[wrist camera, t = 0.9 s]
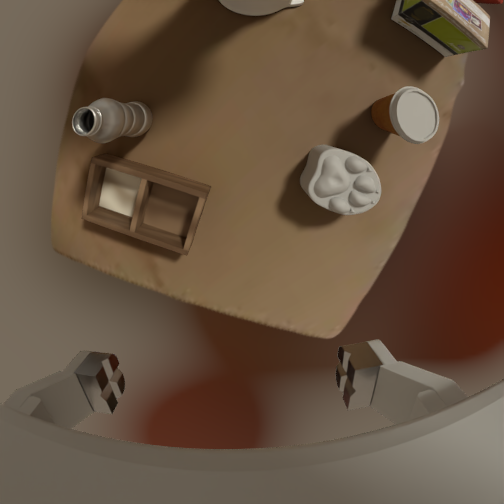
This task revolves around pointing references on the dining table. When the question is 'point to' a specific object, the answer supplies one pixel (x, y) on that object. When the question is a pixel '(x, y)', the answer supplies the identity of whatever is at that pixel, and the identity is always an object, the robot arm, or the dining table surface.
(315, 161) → the lumpy-topped squat cylinder
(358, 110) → the dining table surface
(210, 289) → the dining table surface
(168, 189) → the bottle carrier
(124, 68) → the dining table surface
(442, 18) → the tea box
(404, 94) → the disposable coffee cup
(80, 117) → the metal bottle
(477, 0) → the plant pot
